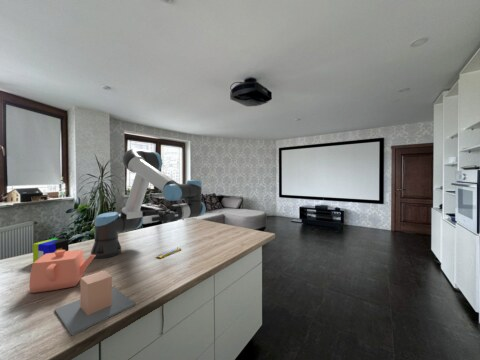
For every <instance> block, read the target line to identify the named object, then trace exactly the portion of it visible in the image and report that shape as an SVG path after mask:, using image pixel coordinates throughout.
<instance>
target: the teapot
mask: <svg viewBox="0 0 480 360" xmlns="http://www.w3.org/2000/svg"><path fill="white" fill-rule="evenodd" d="M95 256H96V255H91V254H90V255H89V256H88V257H87V259H85V254H84V250H83V249H80V250H79V249H78V250H68V251H65V250H58V251H55V252H54V253H47V254H45V255H43V256H42V257H40V258H39V259H38V260H36V261H35V262H34V263H33V262H32V265H31V269H30V275H29V286H28V287H29V292H30V293H32V294H33V293H34V294H35V293H36V294H37V293H43V292H49V291H56V290H63V289H67V288H74V287H77V286H78V284H79V283H80V282H81V277H84V274H85V271H86V269H87V268H88V267H89V265H90V264H91V263H92V261H93V260H94V259H95V258H94V257H95Z"/></svg>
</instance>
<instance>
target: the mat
mask: <svg viewBox="0 0 480 360" xmlns="http://www.w3.org/2000/svg"><path fill="white" fill-rule="evenodd" d="M134 306H136V302H134V301H133V300H132V299H130V298H129V297H127V295H125V294H124V293H122V292H121V291H119V290H118V289H117V288H115V287H114V286H112V305H111V306H108V307H106V308H104V309H101V310H99V311H97V312H95V313H92V314H90V315H87V314H86V313H85V312H84V311H83V309H82V308H81V307H80V299H77V300H75V301H72V302H70V303H66V304H64V305H60V306H59V307H56V308H54V312H55V313H56V315H57V316H58V318H59V319H60V321H61V322H62V324H63V325H64V326H65V328H66V330H67V331H68V332H70V333H69V334H70V335H72V336H74V335H76V334H78V333H80V332H82V331H84V330H86V328H87V329H89V328H91V327H93V326H95V325H97V324H99V323H101V322H103V321H105V320H107V319H109V317H110V318H111V316H112V317H114V316H115V314H116V315H118V314H120V313H123V312H124V311H126V310H129V309H130V308H133V307H134ZM119 312H120V313H119ZM117 313H118V314H117ZM113 315H114V316H113ZM102 320H103V321H102ZM100 321H101V322H100ZM98 322H99V323H98ZM96 323H97V324H96ZM94 324H95V325H94ZM92 325H93V326H92ZM90 326H91V327H90ZM88 327H89V328H88ZM79 331H80V332H79ZM77 332H78V333H77ZM75 333H76V334H75ZM73 334H74V335H73Z"/></svg>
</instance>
